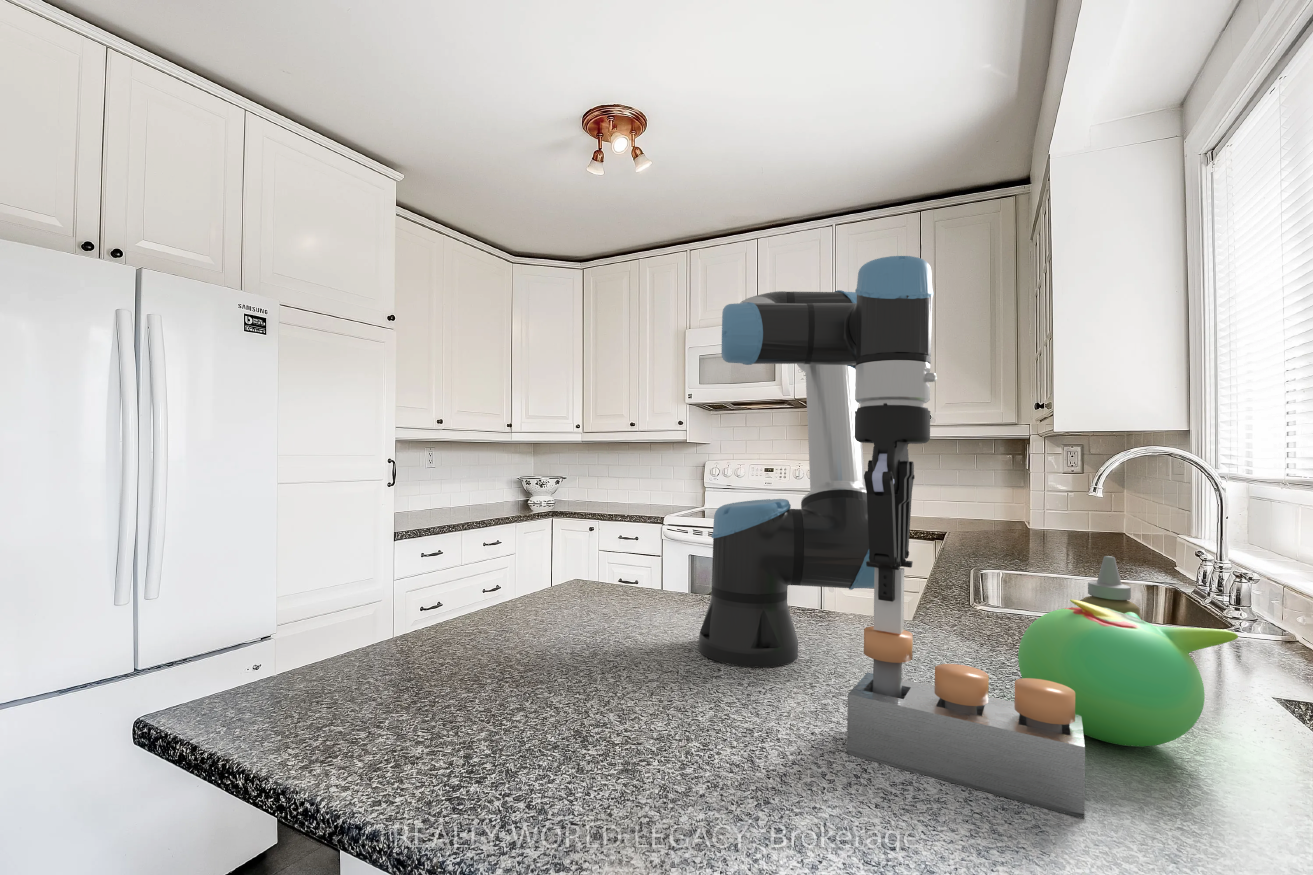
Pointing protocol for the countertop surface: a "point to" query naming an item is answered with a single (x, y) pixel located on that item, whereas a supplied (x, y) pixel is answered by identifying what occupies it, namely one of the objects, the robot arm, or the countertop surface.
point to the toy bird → (1121, 671)
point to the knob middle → (961, 687)
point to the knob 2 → (1045, 703)
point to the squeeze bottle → (1110, 590)
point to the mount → (969, 745)
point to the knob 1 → (888, 658)
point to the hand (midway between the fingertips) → (888, 629)
